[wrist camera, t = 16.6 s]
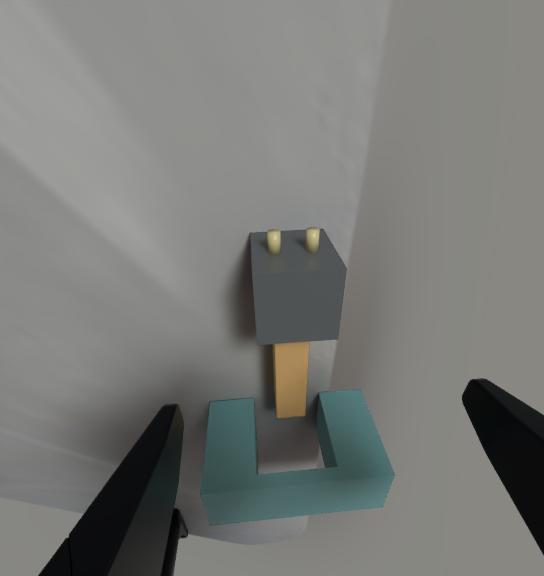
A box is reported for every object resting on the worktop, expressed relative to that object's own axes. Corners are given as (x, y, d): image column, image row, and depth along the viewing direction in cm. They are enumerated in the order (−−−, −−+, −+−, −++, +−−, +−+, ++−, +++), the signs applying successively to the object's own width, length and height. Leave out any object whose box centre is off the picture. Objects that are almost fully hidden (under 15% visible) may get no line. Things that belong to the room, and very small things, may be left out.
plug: (312, 386, 23) (325, 441, 20) (261, 390, 23) (264, 447, 19) (324, 210, 16) (349, 246, 12) (248, 214, 16) (250, 252, 12)
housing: (353, 422, 26) (382, 507, 21) (217, 434, 26) (210, 525, 20) (360, 388, 24) (394, 475, 19) (210, 401, 23) (199, 494, 18)
